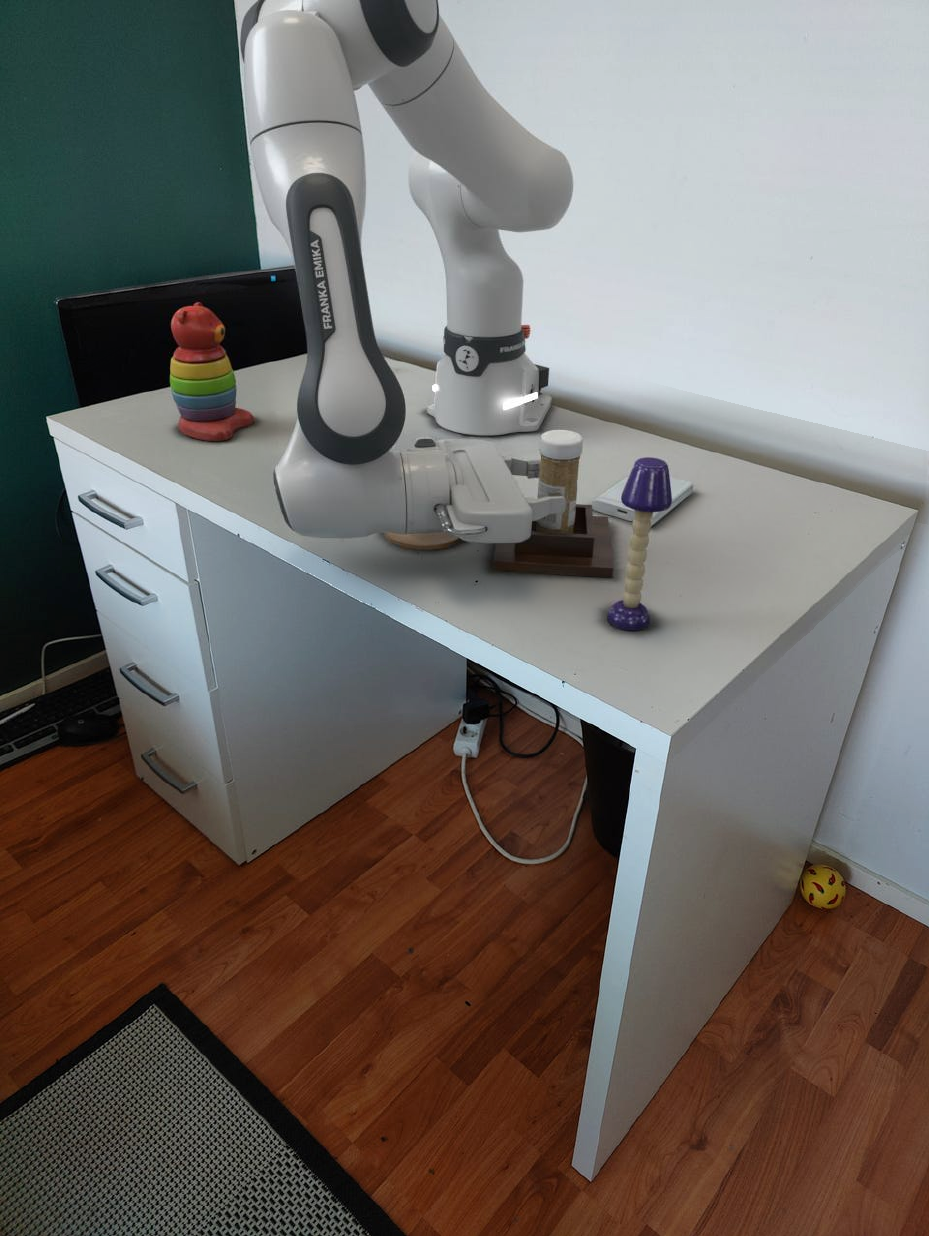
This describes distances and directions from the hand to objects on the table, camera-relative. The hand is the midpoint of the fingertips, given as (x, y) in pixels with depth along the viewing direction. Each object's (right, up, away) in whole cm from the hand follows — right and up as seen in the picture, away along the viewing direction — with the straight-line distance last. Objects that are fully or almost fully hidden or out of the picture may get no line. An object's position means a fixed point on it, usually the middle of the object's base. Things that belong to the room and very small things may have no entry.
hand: (552, 484), depth 95 cm
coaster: (-14, -4, +7) cm, 17 cm away
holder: (+1, -7, +4) cm, 8 cm away
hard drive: (+13, 0, +15) cm, 20 cm away
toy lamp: (+7, -15, -9) cm, 19 cm away
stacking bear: (-48, +14, +36) cm, 61 cm away
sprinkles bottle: (0, -7, +4) cm, 8 cm away
